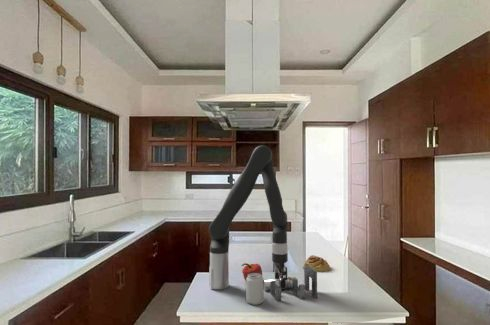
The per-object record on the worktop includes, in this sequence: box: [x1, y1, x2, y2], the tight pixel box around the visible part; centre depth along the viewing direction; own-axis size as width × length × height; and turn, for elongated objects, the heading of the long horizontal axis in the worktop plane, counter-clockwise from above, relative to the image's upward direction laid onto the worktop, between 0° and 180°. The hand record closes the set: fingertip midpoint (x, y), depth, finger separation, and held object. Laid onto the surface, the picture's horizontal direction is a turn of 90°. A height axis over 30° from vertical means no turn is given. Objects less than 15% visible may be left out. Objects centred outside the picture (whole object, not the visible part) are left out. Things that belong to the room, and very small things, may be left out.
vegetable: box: [241, 262, 263, 282], centre depth 179 cm, size 11×10×10 cm
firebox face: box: [303, 263, 318, 300], centre depth 163 cm, size 1×12×12 cm, turn 13°
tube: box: [263, 276, 297, 292], centre depth 170 cm, size 16×5×5 cm, turn 103°
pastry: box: [302, 254, 332, 273], centre depth 202 cm, size 13×15×8 cm
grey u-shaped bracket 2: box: [292, 277, 306, 300], centre depth 162 cm, size 2×10×6 cm, turn 13°
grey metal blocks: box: [269, 280, 282, 302], centre depth 159 cm, size 2×10×6 cm, turn 13°
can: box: [245, 273, 264, 306], centre depth 154 cm, size 8×8×12 cm
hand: (280, 285), depth 170 cm, fingers open, 8 cm apart
